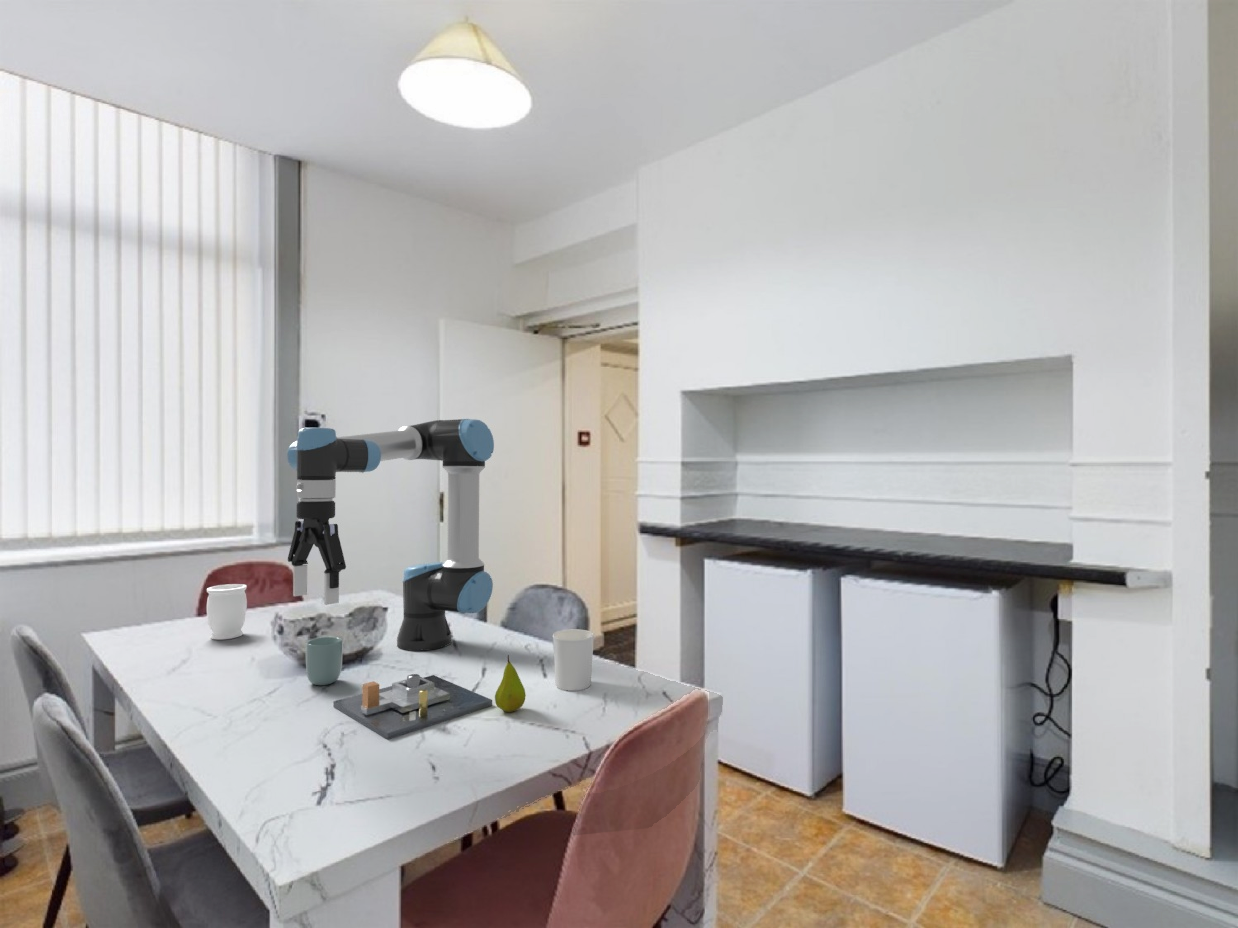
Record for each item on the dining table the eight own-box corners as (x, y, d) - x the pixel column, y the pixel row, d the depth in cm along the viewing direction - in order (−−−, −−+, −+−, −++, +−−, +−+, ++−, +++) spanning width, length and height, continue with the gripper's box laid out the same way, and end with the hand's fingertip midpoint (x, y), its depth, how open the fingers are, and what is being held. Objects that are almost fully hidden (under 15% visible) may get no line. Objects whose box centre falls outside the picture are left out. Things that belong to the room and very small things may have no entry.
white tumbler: (543, 685, 154) (543, 634, 154) (574, 675, 161) (574, 626, 161) (572, 695, 147) (572, 642, 147) (602, 684, 155) (602, 634, 155)
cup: (328, 689, 151) (328, 646, 151) (298, 687, 152) (298, 644, 152) (348, 678, 158) (348, 637, 158) (320, 676, 160) (320, 635, 160)
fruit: (524, 704, 142) (525, 649, 142) (525, 714, 136) (525, 657, 136) (495, 705, 141) (495, 650, 141) (494, 716, 135) (494, 658, 135)
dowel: (424, 713, 133) (424, 688, 133) (428, 715, 132) (428, 690, 132) (417, 715, 132) (417, 690, 132) (421, 717, 131) (421, 692, 131)
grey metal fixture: (423, 686, 148) (423, 662, 148) (449, 698, 141) (449, 672, 141) (351, 706, 136) (351, 679, 136) (376, 720, 129) (376, 692, 129)
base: (433, 679, 158) (433, 652, 158) (492, 705, 141) (492, 675, 141) (333, 706, 140) (333, 676, 140) (387, 739, 124) (387, 705, 124)
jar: (233, 641, 191) (233, 590, 191) (198, 641, 191) (198, 590, 191) (254, 631, 202) (254, 583, 202) (220, 631, 202) (220, 583, 202)
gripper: (271, 498, 144) (270, 594, 144) (328, 502, 129) (327, 610, 129) (305, 497, 150) (304, 589, 150) (363, 501, 135) (363, 604, 135)
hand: (315, 599), depth 139 cm, fingers open, 13 cm apart
